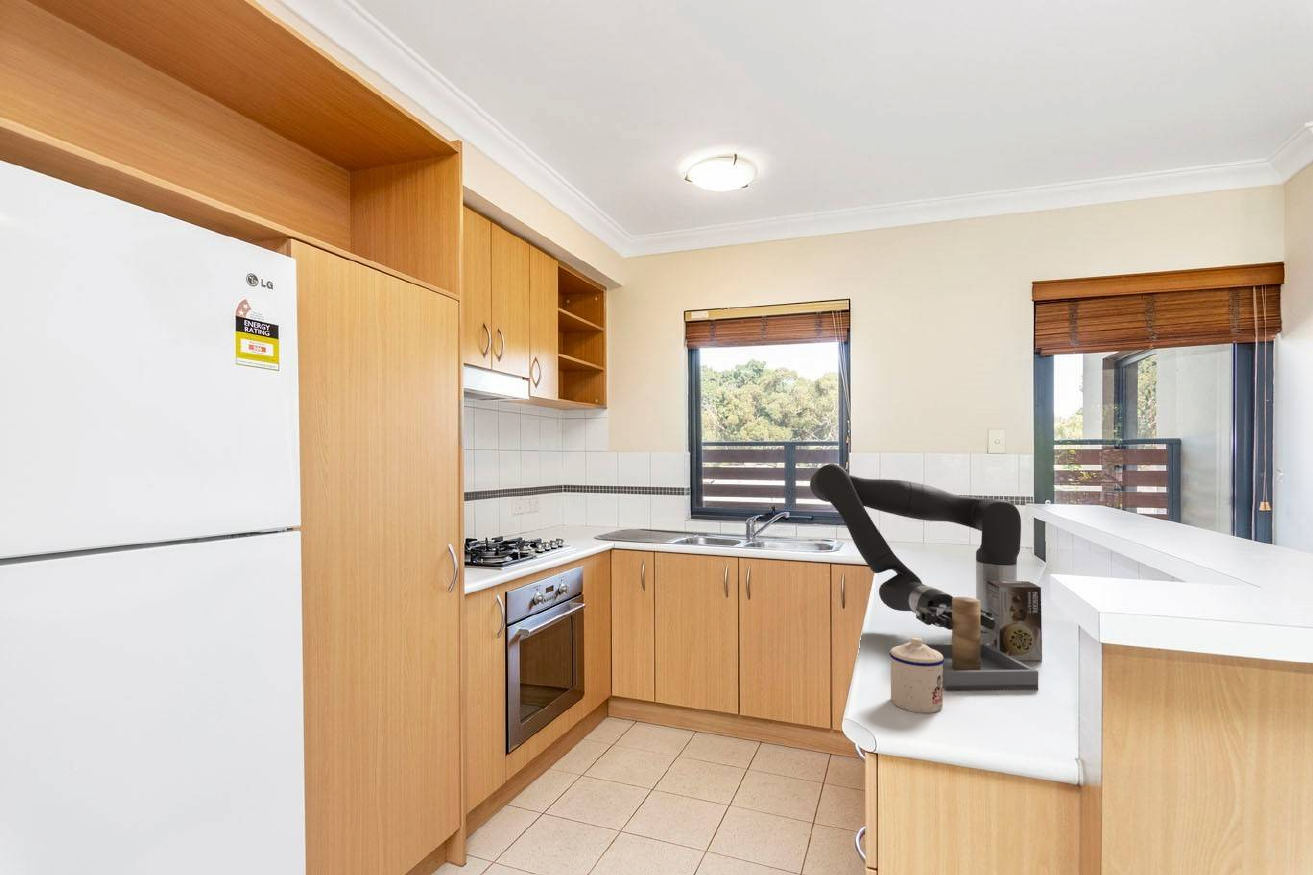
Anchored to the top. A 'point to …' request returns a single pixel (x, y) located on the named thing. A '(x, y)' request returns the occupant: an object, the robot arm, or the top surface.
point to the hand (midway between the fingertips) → (972, 624)
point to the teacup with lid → (917, 677)
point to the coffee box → (1016, 619)
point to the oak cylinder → (966, 634)
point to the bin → (987, 672)
